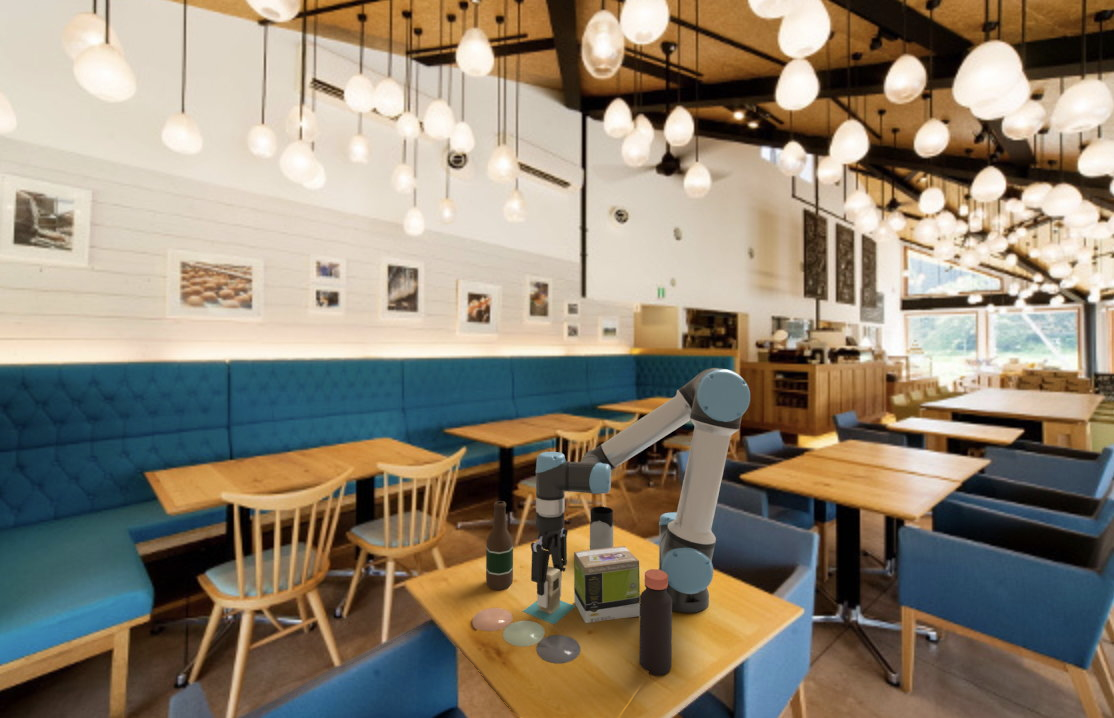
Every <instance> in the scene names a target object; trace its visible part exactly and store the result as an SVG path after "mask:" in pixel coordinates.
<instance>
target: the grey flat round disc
mask: <svg viewBox="0 0 1114 718" xmlns="http://www.w3.org/2000/svg"><path fill="white" fill-rule="evenodd" d="M535 651H536V654H537V655H538V657H539V658H540V659H542V660H543V661H545V662H548V663H550V664H567V663H569V662H572V661H574V660H576V659H577V658H578V656H579V655H580V653H581V646H580V643H579V642H578V641H577V640H575V639H574V638H573V637H571V636H568V635H563V634H553V635H548V636H546V637H545V636H544V637H543V639H542V640H541V641H540V642H538V643H536V649H535Z"/></svg>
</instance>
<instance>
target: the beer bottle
mask: <svg viewBox="0 0 1114 718" xmlns="http://www.w3.org/2000/svg"><path fill="white" fill-rule="evenodd" d="M492 507H493V508H494V509H493V510H494V512H493V523H492V524H493V525H492V529H491V531H490V532H489V534H488V537H487V538H486V539H487V540H486V545H485V546H486V547H485V548H486V549H485V550H486V551H485V557H486V558H485V559H486V560H485V564H486V565H485V580H486V582H485V583H486V586H488V588H489V589H490V590H493V591H494V590H495V591H502V590H506V589H509V588H510V586H511V585H512V584H513V582H514V581H513V579H514V541H513V537H512V535H511V533H510V532H509V530H508V526H507V513H506V512H507V511H506V507H507V503H506V502H505V501H504V500H503V501H502V500H498V501H495V502H494V503H493V506H492Z"/></svg>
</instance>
